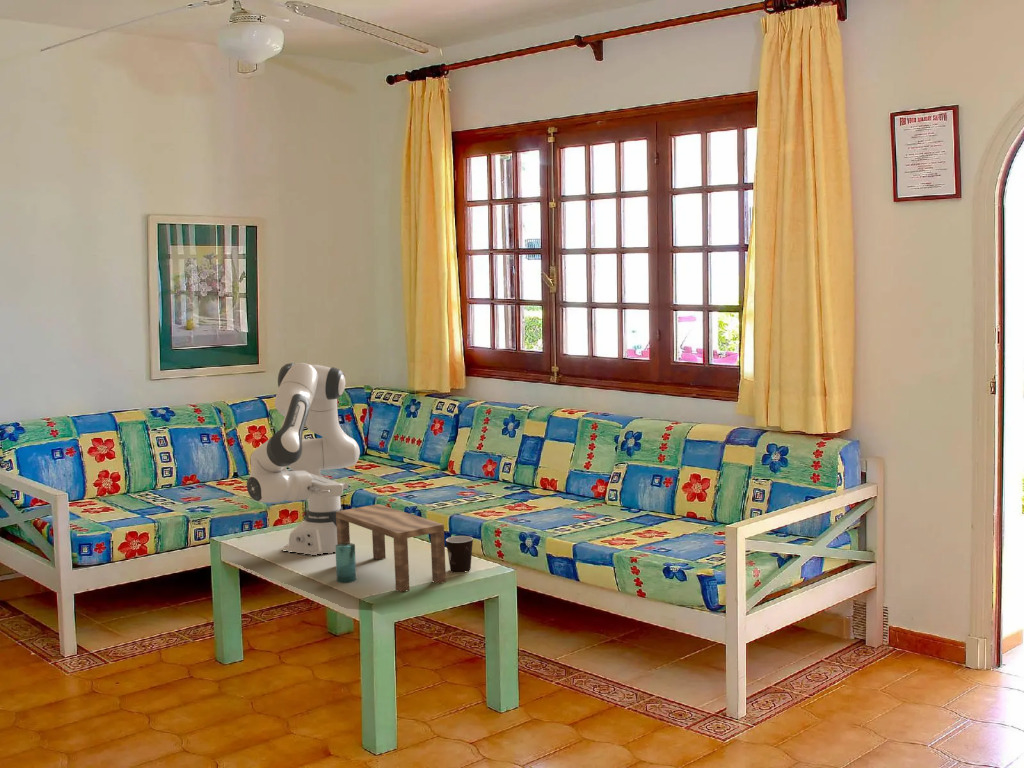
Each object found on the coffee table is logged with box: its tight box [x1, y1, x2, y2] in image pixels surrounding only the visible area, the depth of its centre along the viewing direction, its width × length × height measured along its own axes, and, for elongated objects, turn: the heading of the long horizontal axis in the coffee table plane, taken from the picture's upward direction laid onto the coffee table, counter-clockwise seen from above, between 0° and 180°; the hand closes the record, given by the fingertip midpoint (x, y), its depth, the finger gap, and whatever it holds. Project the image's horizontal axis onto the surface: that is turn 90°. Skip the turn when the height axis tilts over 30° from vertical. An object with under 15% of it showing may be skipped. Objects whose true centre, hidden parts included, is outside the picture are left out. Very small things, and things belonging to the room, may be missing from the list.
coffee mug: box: [445, 535, 474, 573], centre depth 339 cm, size 12×9×10 cm
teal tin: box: [335, 542, 357, 584], centre depth 334 cm, size 6×6×11 cm
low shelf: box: [336, 503, 447, 593], centre depth 339 cm, size 16×40×18 cm, turn 36°
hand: (338, 482), depth 330 cm, fingers open, 8 cm apart
